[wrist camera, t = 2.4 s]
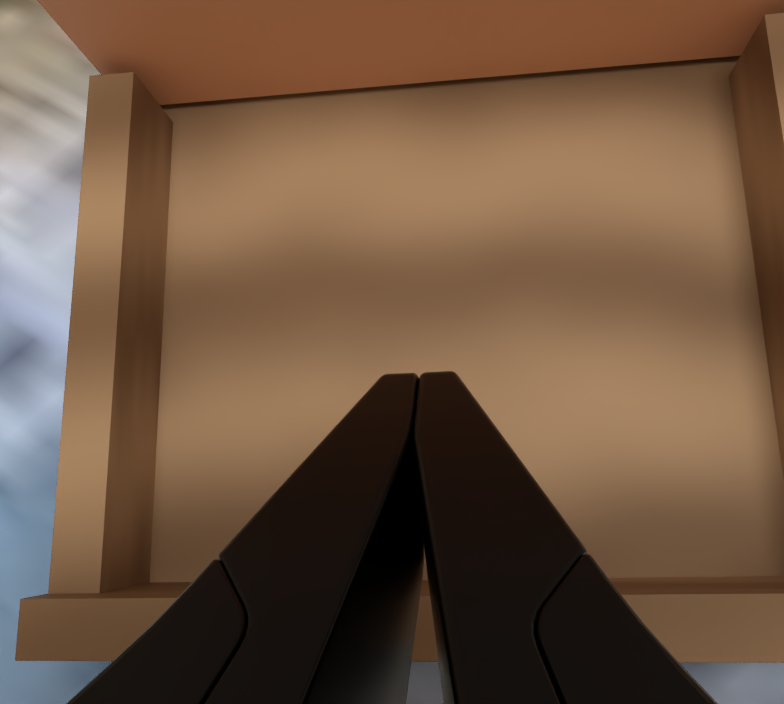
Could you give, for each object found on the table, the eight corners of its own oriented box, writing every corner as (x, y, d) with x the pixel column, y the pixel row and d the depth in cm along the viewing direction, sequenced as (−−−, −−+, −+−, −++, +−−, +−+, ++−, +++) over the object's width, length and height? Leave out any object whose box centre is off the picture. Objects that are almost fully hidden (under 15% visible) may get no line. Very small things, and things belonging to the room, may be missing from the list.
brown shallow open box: (810, 615, 19) (961, 662, 13) (145, 618, 21) (15, 660, 15) (734, 65, 22) (826, -94, 16) (171, 112, 24) (74, -14, 18)
